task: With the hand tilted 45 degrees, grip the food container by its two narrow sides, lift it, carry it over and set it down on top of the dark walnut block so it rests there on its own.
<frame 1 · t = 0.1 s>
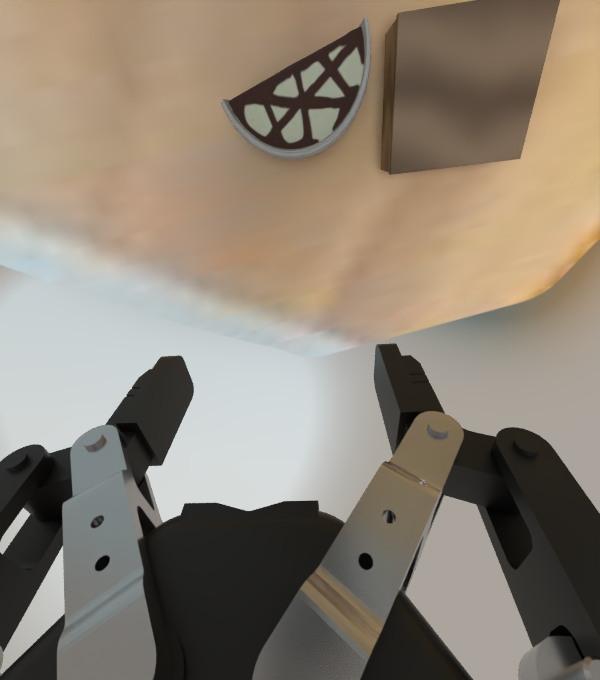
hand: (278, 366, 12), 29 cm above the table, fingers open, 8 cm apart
food container: (305, 119, 31), on the table
walnut block: (443, 100, 30), on the table
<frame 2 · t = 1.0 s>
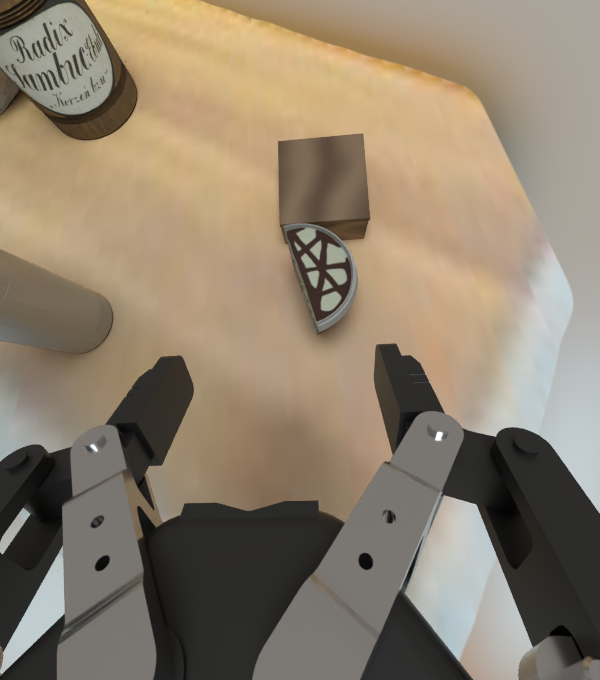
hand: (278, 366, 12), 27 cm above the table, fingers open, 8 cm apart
food container: (326, 295, 41), on the table
wooden container: (96, 104, 50), on the table
walnut block: (322, 203, 43), on the table
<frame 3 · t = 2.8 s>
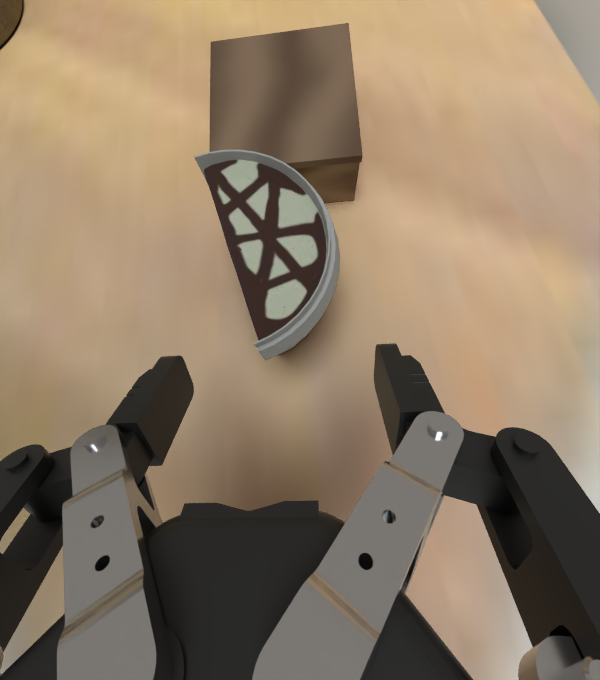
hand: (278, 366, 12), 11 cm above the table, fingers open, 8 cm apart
food container: (296, 291, 25), on the table
walnut block: (289, 148, 28), on the table
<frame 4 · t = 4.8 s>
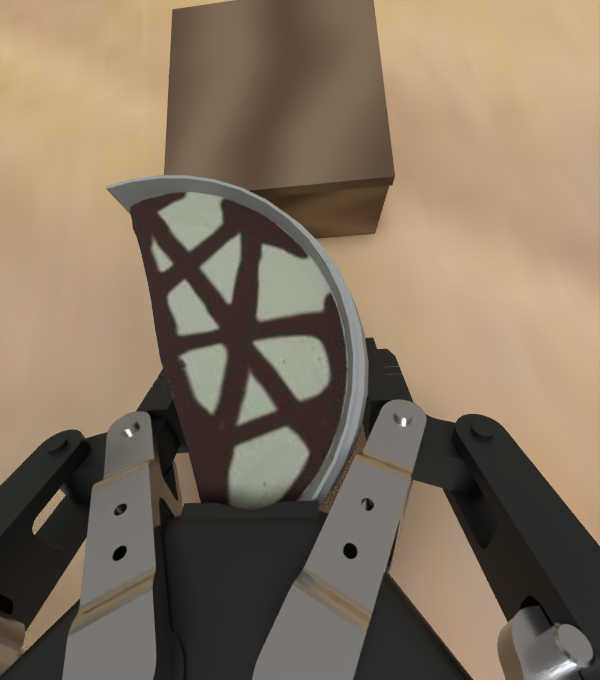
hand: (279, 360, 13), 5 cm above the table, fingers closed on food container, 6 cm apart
food container: (293, 364, 18), on the table, touching gripper
walnut block: (285, 160, 20), on the table
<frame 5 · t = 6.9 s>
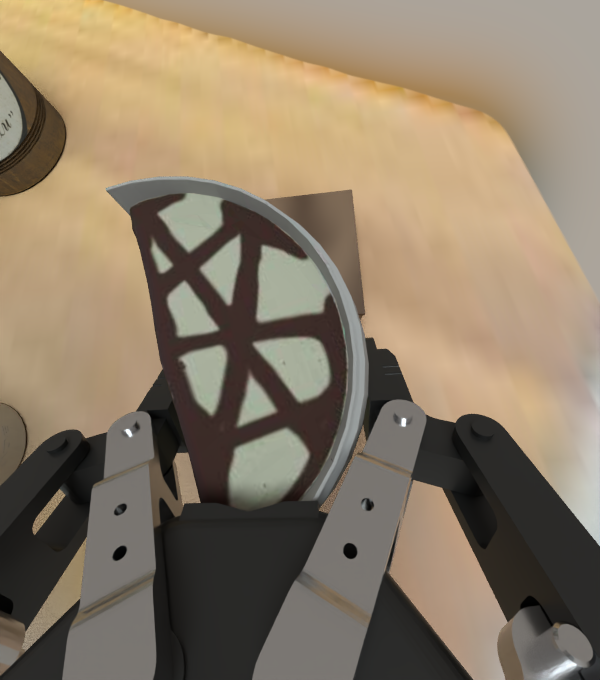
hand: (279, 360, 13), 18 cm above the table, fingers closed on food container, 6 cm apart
food container: (293, 365, 18), point 13 cm above the table, touching gripper
wooden container: (16, 148, 40), on the table
walnut block: (301, 276, 32), on the table
when the fingers open (11 cm above the table, at t = 9.4 s): food container drops 1 cm, resting on walnut block.
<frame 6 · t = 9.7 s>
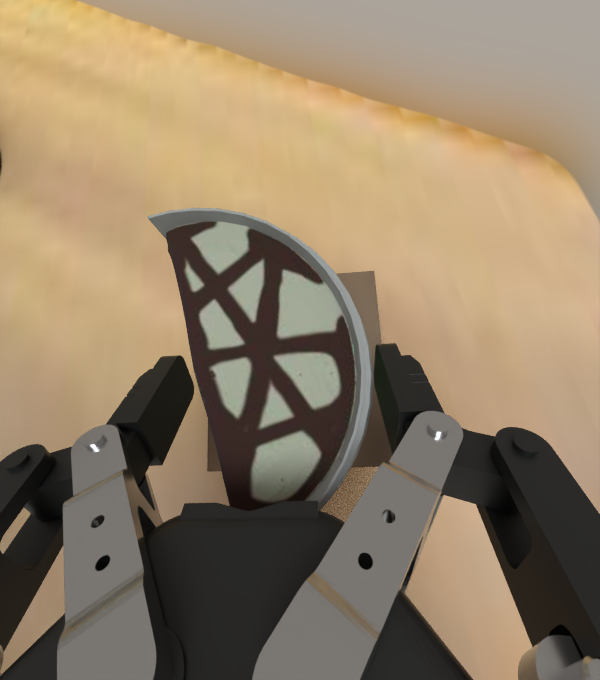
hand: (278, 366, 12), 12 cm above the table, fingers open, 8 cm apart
food container: (301, 370, 19), point 5 cm above the table, touching walnut block
walnut block: (300, 373, 24), on the table
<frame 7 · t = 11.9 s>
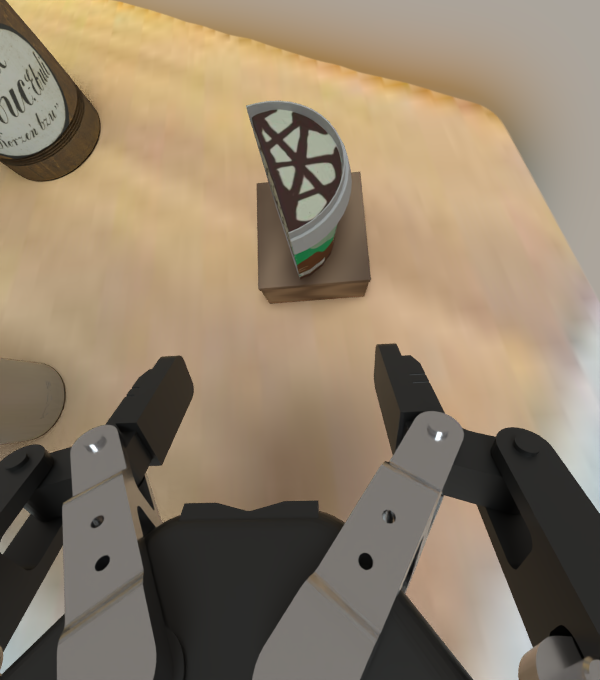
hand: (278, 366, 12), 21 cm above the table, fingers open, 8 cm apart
food container: (315, 231, 31), point 5 cm above the table, touching walnut block
wooden container: (55, 139, 44), on the table
walnut block: (313, 252, 36), on the table
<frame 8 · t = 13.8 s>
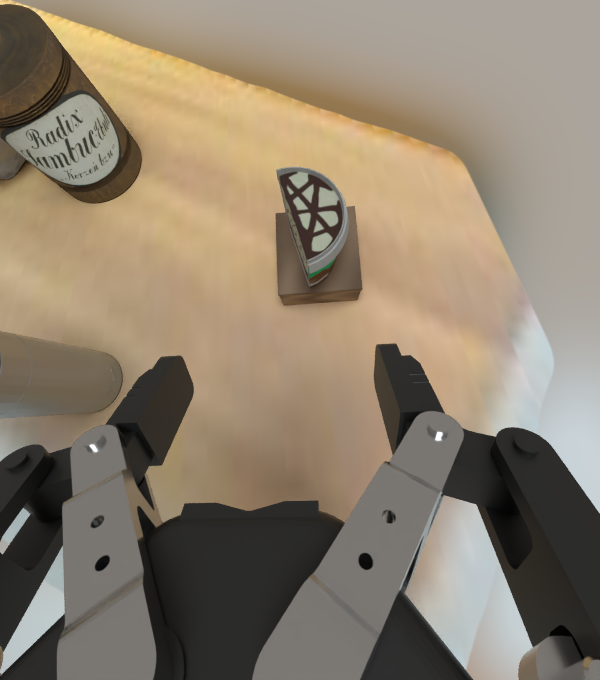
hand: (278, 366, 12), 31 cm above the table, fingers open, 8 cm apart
food container: (320, 251, 41), point 5 cm above the table, touching walnut block
wooden container: (103, 167, 53), on the table
ceramic pitcher: (5, 145, 56), on the table
walnut block: (318, 265, 46), on the table
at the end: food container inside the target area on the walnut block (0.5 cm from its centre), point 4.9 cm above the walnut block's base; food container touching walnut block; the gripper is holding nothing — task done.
